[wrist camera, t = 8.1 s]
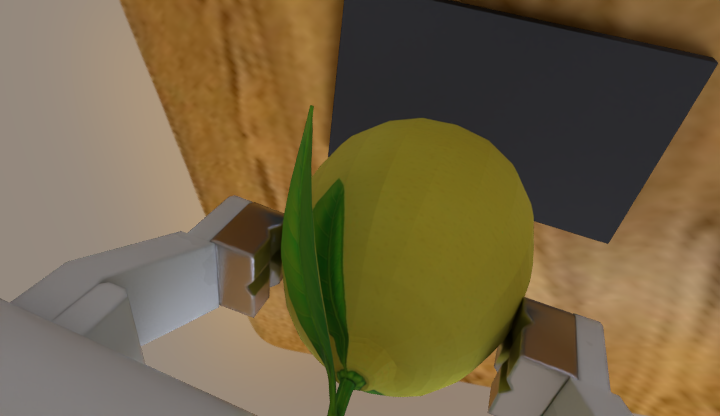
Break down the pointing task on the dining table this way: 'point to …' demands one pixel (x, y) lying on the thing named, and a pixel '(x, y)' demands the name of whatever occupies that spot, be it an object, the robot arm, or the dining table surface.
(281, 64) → the dining table surface
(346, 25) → the mat
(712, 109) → the dining table surface
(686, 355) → the dining table surface
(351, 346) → the lemon
